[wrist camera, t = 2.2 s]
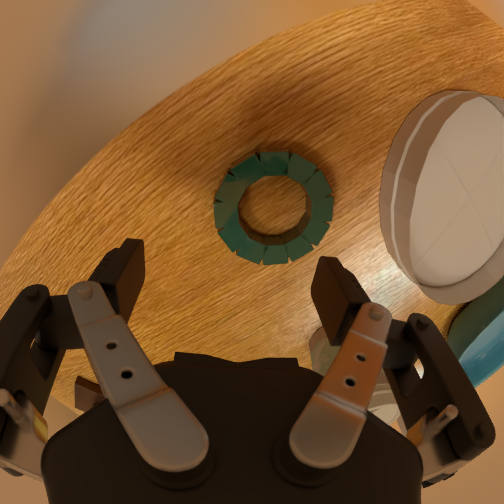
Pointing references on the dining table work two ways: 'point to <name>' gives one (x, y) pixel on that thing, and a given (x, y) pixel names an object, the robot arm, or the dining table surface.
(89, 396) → the holder
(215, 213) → the green segmented ring
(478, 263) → the dish
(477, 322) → the casserole dish
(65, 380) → the dining table surface
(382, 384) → the coffee cup
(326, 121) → the dining table surface
